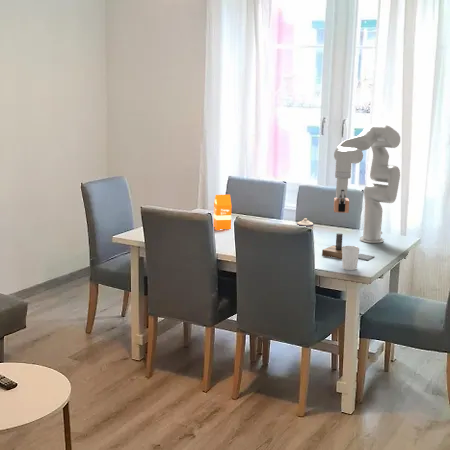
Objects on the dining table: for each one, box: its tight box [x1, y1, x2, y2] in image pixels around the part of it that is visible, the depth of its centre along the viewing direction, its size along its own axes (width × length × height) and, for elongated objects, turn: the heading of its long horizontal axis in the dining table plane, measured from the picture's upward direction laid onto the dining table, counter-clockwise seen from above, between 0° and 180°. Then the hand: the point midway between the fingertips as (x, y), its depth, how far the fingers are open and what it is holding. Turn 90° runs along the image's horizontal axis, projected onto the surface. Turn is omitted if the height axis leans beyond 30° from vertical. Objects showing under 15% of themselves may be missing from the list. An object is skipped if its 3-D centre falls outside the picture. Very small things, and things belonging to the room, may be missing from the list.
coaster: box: [358, 253, 375, 261], centre depth 346 cm, size 8×8×1 cm
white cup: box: [341, 245, 360, 271], centre depth 326 cm, size 8×8×10 cm
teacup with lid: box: [296, 217, 314, 230], centre depth 382 cm, size 12×9×12 cm
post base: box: [321, 233, 343, 260], centre depth 349 cm, size 12×12×11 cm
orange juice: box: [213, 194, 233, 231], centre depth 401 cm, size 8×9×20 cm
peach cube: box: [333, 197, 350, 214], centre depth 345 cm, size 7×7×7 cm
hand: (341, 209), depth 345 cm, fingers closed on peach cube, 7 cm apart
